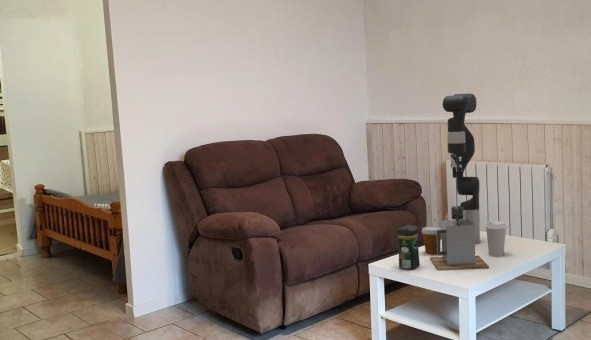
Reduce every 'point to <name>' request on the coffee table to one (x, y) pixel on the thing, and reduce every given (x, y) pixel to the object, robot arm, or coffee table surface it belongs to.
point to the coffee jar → (408, 247)
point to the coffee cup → (496, 237)
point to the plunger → (457, 213)
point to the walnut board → (441, 265)
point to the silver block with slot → (457, 242)
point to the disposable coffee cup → (430, 239)
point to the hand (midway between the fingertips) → (457, 178)
